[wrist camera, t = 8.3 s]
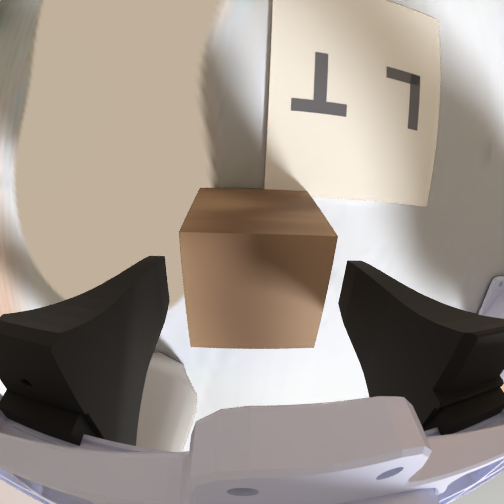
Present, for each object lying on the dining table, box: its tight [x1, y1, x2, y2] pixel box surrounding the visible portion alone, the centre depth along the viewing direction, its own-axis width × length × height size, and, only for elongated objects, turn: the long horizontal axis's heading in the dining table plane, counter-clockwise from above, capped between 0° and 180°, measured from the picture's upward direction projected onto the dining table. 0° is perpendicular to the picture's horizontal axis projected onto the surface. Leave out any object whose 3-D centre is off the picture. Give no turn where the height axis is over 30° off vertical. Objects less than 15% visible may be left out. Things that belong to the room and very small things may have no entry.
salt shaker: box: [136, 352, 197, 452], centre depth 13 cm, size 6×6×13 cm
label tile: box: [264, 0, 441, 207], centre depth 12 cm, size 9×11×1 cm
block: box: [179, 188, 338, 349], centre depth 13 cm, size 5×5×5 cm
